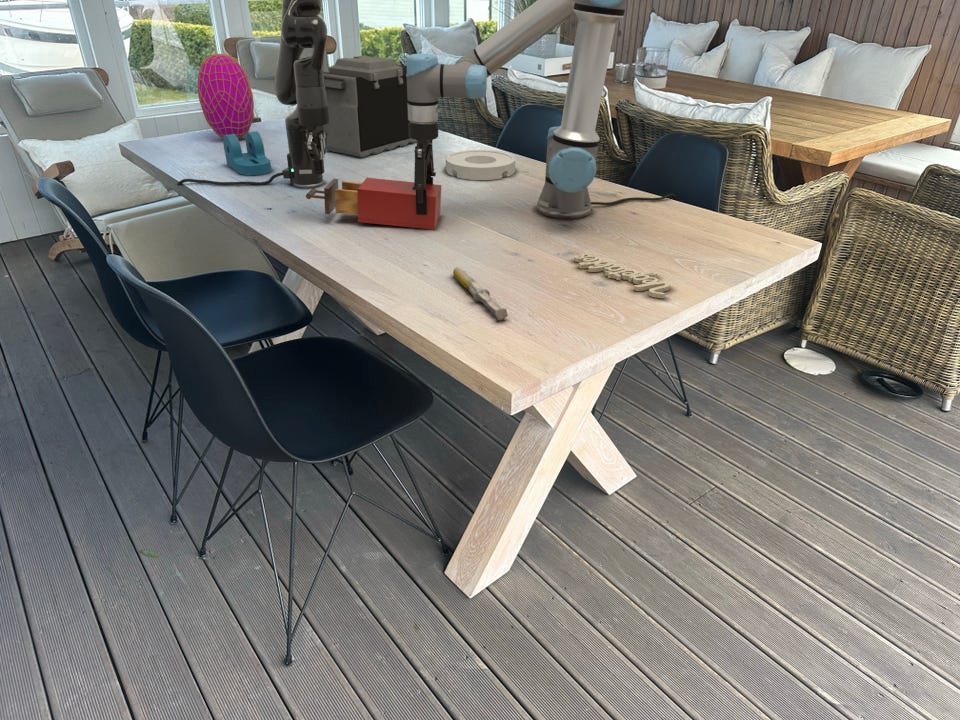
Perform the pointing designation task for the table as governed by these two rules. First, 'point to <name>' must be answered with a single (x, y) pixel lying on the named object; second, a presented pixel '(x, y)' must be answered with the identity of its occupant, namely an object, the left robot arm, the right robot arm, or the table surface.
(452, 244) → the table surface
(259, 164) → the camera mount
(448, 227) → the table surface
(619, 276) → the decorative sign
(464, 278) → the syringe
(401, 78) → the cooler box
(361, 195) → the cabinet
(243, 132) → the decorative egg
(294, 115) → the left robot arm
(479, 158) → the ashtray
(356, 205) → the drawer
